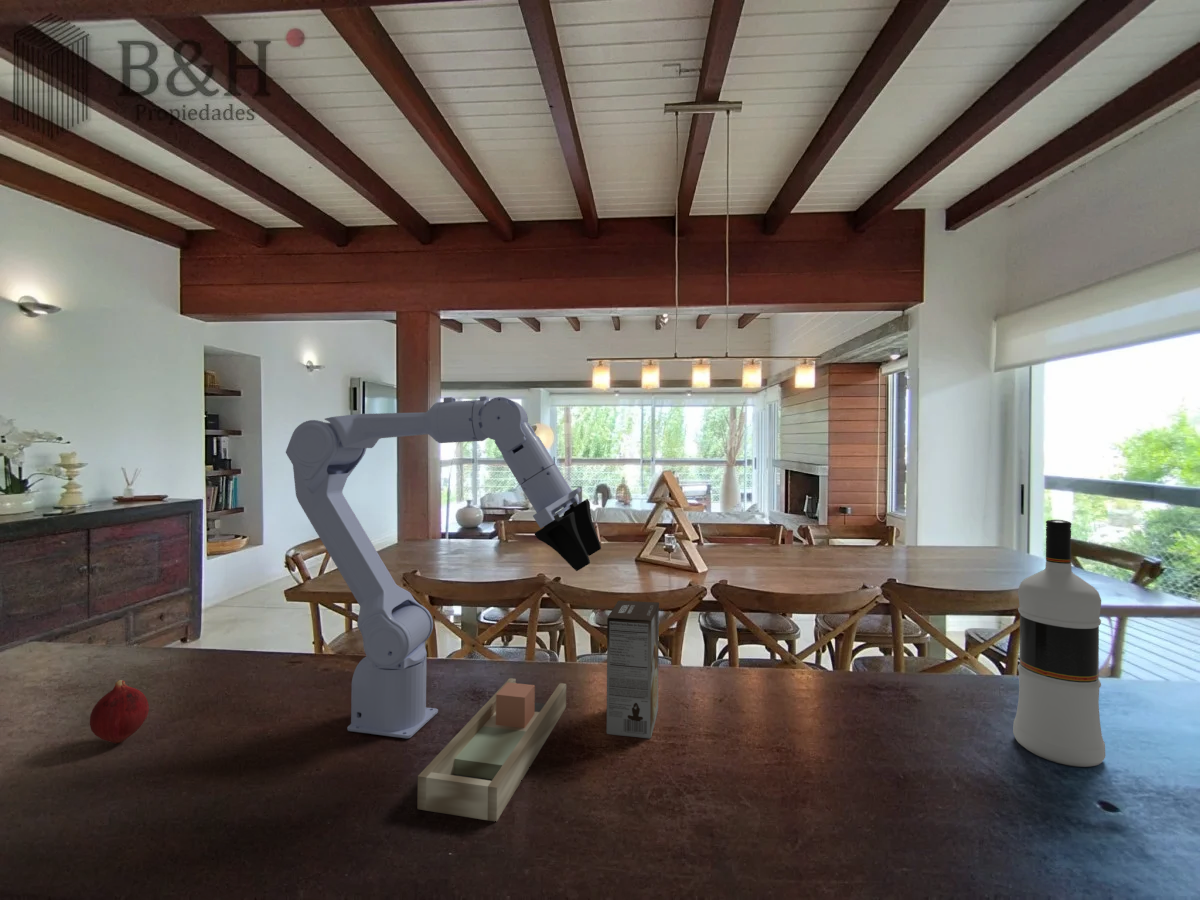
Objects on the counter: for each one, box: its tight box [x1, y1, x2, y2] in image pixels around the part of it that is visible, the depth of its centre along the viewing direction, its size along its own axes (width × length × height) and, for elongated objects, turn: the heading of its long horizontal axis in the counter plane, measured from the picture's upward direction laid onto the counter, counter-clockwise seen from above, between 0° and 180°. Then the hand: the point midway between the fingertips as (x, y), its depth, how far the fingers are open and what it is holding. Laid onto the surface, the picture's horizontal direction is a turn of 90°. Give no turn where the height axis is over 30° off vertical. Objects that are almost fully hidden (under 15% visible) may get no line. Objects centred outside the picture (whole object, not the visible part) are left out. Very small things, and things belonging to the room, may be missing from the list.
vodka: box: [1012, 519, 1106, 768], centre depth 72 cm, size 9×9×30 cm
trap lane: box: [416, 677, 567, 823], centre depth 71 cm, size 9×26×4 cm, turn 168°
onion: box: [89, 679, 150, 745], centre depth 72 cm, size 6×6×8 cm
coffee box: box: [606, 600, 660, 740], centre depth 79 cm, size 9×6×16 cm
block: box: [496, 682, 536, 728], centre depth 75 cm, size 4×4×4 cm
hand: (589, 559), depth 76 cm, fingers open, 7 cm apart
